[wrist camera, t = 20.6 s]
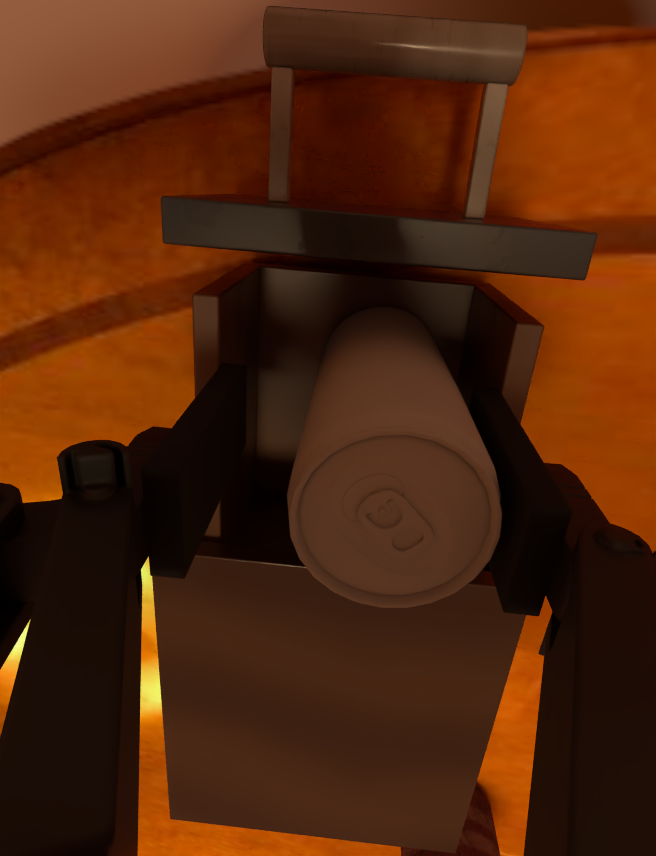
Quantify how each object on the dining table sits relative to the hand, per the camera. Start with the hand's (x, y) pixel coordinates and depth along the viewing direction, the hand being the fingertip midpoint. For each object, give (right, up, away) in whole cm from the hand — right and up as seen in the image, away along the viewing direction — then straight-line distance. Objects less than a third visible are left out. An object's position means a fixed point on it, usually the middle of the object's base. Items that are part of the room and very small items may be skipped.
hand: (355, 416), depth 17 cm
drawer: (+1, +4, +6) cm, 7 cm away
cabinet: (0, -8, +12) cm, 15 cm away
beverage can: (+1, +2, +6) cm, 6 cm away
